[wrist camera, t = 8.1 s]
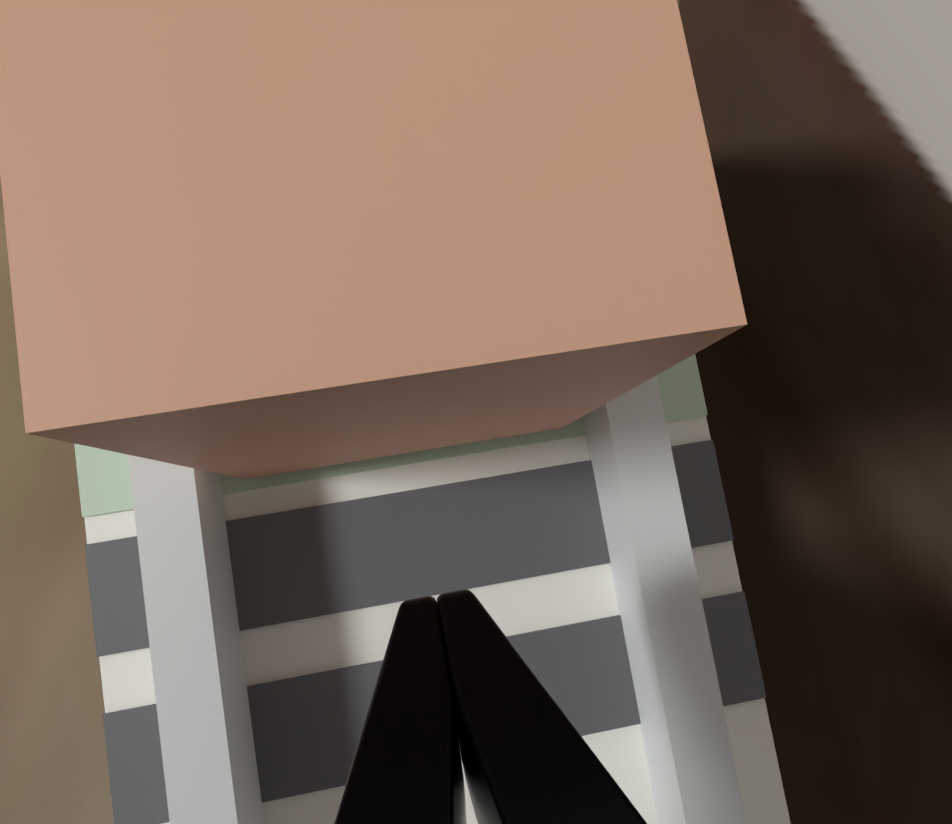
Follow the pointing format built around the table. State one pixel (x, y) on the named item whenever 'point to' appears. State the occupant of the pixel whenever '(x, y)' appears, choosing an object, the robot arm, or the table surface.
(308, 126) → the slider block
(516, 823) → the robot arm
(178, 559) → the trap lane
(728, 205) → the table surface
